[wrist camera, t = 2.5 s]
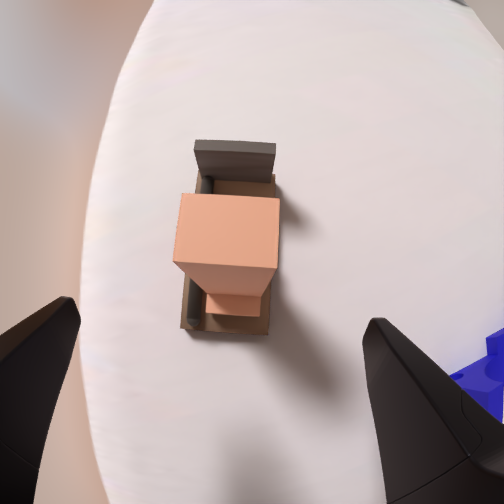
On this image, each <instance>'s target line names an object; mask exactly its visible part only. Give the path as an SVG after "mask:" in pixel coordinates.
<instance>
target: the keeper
mask: <svg viewBox="0 0 504 504" xmlns="http://www.w3.org/2000/svg"><path fill="white" fill-rule="evenodd" d="M279 207H280V199H278V198H265V197H250V196H234V195H215V194H191V193H182V197H181V203H180V210H179V216H178V223H177V230H176V238H175V245H174V253H173V262H174V263H175V264H176V265H177V266H178V267H179V268H180V269H181V270H182V271H184V272H185V273H186V274H187V275H188V276H189V277H190V278H191V279H192V280H193V281H194V282H195V283H196V284H198V285H199V286H200V287H201V288H202V289H203V290H204V291H205V292H206V293H207V302H206V313H210V314H222V315H236V316H251V317H259V316H260V305H261V296H262V294H263V293H264V291H265V289H266V287H267V286H268V284H269V282H270V280H271V278H272V277H273V275H274V273H275V271H276V269H277V262H278V237H279Z"/></svg>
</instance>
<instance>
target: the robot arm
mask: <svg viewBox="0 0 504 504" xmlns="http://www.w3.org/2000/svg"><path fill="white" fill-rule="evenodd" d="M80 324H81V317H80V314H79V312H78V309H77V306H76V304H75V301H74V299H73V298H71V297H65V296H61V297H59V298H57V299H56V300H54V301H53V302H51V303H49V304H48V305H46V306H45V307H43V308H41V309H40V310H38V311H37V312H35V313H34V314H32V315H30V316H29V317H27V318H26V319H24V320H23V321H21V322H20V323H18V324H17V325H15V326H14V327H12V328H10V329H9V330H7V331H6V332H4V333H3V334H1V335H0V504H33V502H34V496H35V489H36V483H37V479H38V473H39V468H40V463H41V459H42V454H43V450H44V446H45V441H46V438H47V434H48V430H49V426H50V423H51V419H52V416H53V413H54V409H55V406H56V402H57V399H58V396H59V393H60V390H61V387H62V384H63V381H64V378H65V375H66V372H67V370H68V367H69V363H70V360H71V357H72V352H73V349H74V345H75V341H76V338H77V335H78V331H79V328H80ZM362 345H363V353H364V361H365V370H366V380H367V388H368V393H369V398H370V403H371V408H372V413H373V418H374V423H375V428H376V434H377V439H378V445H379V451H380V457H381V463H382V470H383V477H384V484H385V492H386V500H387V504H504V424H503V423H501V422H500V421H499V420H498V419H496V418H495V417H494V416H493V415H491V414H490V413H489V412H488V411H487V410H486V409H484V408H483V407H482V406H481V405H480V404H479V403H478V402H477V401H475V400H474V399H473V398H472V397H471V396H470V395H469V394H468V393H467V392H466V391H465V390H464V389H462V388H461V387H460V386H459V385H458V384H457V383H456V382H455V381H454V380H453V379H452V378H451V377H450V376H449V375H448V374H447V373H446V372H444V371H443V370H442V369H441V368H440V367H439V366H438V365H437V364H436V363H435V362H434V361H433V360H431V359H430V358H429V357H428V356H427V355H426V354H425V353H424V352H423V351H422V350H420V349H419V348H418V347H417V346H416V345H415V344H414V343H413V342H412V341H410V340H409V339H408V338H407V337H406V336H405V335H404V334H403V333H401V332H400V331H399V330H398V329H397V328H396V327H395V326H394V325H392V324H391V323H390V322H389V321H388V320H387V319H385V318H372V319H371V320H370V322H369V324H368V327H367V329H366V331H365V334H364V336H363V341H362Z"/></svg>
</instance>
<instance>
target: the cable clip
mask: <svg viewBox="0 0 504 504" xmlns="http://www.w3.org/2000/svg"><path fill="white" fill-rule="evenodd" d="M486 344H487V356H485V357H483V358H482V359H480V360H478V361H476V362H474V363H473V364H471V365H469V366H467V367H465V368H463V369H461V370H459V371H457V372H455V373H453V374H451V375H449V376H450V377H451V378H452V379H453V380H454V381H455V382H456V383H457V384H458V385H459V386H460V387H461V388H462V389H464V390H465V391H466V392H467V393H468V394H469V395H470V396H471V397H472V398H473V399H474V400H475V401H477V402H478V403H479V404H480V405H481V406H482V407H483V408H484V409H486V410H487V411H488V412H489V413H490V414H491V415H493V416H494V417H495V418H496V419H498V420H499V421H500V422H501V423H502V419H503V391H504V328H503V329H501V330H499V331H497V332H496V333H494V334H492V335H490V336H488V337H487V338H486Z"/></svg>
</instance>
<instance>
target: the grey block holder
mask: <svg viewBox="0 0 504 504" xmlns="http://www.w3.org/2000/svg"><path fill="white" fill-rule="evenodd" d="M194 153H195V157H196V161H197V164H198V168H199V170H198V176H197V183H196V190H195V194H215V195H234V196H250V197H265V198H275V174H272V172H273V166H274V161H275V155H276V143H263V142H248V141H228V140H195V146H194ZM270 291H271V280H270V282H269V284H268V286H267V287H266V289H265V291H264V293H263V294H262V296H261V305H260V316H259V317H251V316H236V315H222V314H210V313H206V302H207V293H206V292H205V291H204V290H203V289H202V288H201V287H200V286H199V285H198V284H196V283H195V282H194V281H193V280H192V279H191V278H190V277H189V276H188V275H187V274H186V273H185V279H184V289H183V300H182V312H181V325H180V328H182V329H191V330H202V331H213V332H225V333H239V334H255V335H268V328H269V310H270Z"/></svg>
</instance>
